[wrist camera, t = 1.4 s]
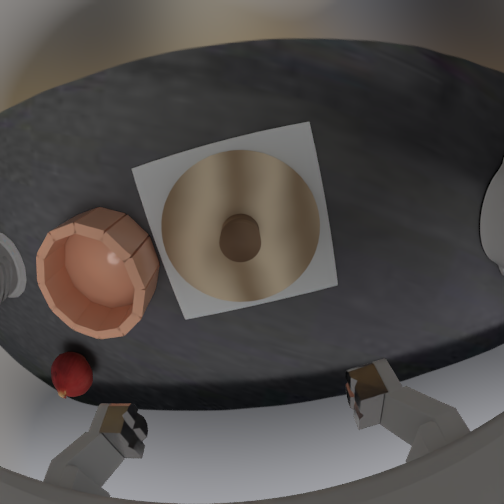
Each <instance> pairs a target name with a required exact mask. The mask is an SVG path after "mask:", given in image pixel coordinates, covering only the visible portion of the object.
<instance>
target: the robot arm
mask: <svg viewBox="0 0 504 504" xmlns="http://www.w3.org/2000/svg"><path fill="white" fill-rule="evenodd" d="M480 235H481V242H482V246H483V249H484V251H485V253H486V255H487V256H488V258H489V259H490V260H492V261H493V262H495V263H496V264H497V265H498V266H499V269H500V272H501V274H502V275H504V159H503V163H502V165H501V167H500V169H499V170H498V171H497V173H496V174H495V176H494V177H493V179H492V181H491V183H490V185H489V187H488V189H487V192H486V195H485V198H484V202H483V206H482V211H481V220H480ZM346 380H347V382H348V383H347V384H346V395H347V399H348V403H349V406H350V408H352V409H353V410H354V419H355V422H356V424H357V427H358V429H359V430H360V429H363V428H367V427H370V426H373V425H377V424H381V425H382V426H383V427H385V428H386V429H388V430H389V431H391V432H392V433H394V434H395V435H397V436H398V437H400V438H401V439H402V440H404V441H405V442H407V443H409V444H410V445H411V446H412V447H411V450H410V452H409V455H408V457H407V459H406V463H405V464H403V465H400V466H397V467H395V468H392V469H389V470H386V471H384V472H381V473H378V474H375V475H372V476H369V477H366V478H363V479H359V480H356V481H353V482H349V483H346V484H342V485H338V486H334V487H330V488H326V489H322V490H317V491H313V492H308V493H303V494H297V495H292V496H286V497H279V498H272V499H265V500H257V501H246V502H234V503H214V504H504V412H502V413H501V414H499V415H497V416H496V417H494V418H493V419H491V420H490V421H488V422H486V423H485V424H483V425H482V426H480V427H478V428H476V429H475V430H473V431H471V432H470V430H469V429H468V427H467V425H466V424H465V422H464V421H463V419H462V417H461V416H460V414H459V413H458V411H457V410H456V408H454V407H451V406H449V405H447V404H445V403H442V402H440V401H438V400H435V399H433V398H431V397H429V396H427V395H424V394H422V393H420V392H418V391H416V390H414V389H411V388H409V387H407V386H405V387H402V385H401V384H400V382H399V380H398V378H397V377H396V375H395V373H394V372H393V370H392V368H391V367H390V365H389V363H388V362H387V360H386V359H381V360H378V361H375V362H372V363H368V364H365V365H362V366H359V367H355V368H352V369H349V370H346ZM137 411H138V409H137V407H136V406H135V405H134V404H100V405H99V406H98V409H97V411H96V414H95V417H94V419H93V421H92V424H91V427H90V429H89V432H85V433H84V434H83V435H81V436H80V437H79V438H78V439H77V440H76V441H74V442H73V443H72V444H71V445H70V446H69V447H67V448H66V449H65V450H63V451H62V452H61V453H60V454H59V455H57V456H56V457H55V458H54V459H53V460H52V461H51V463H50V466H49V468H48V471H47V474H46V476H45V479H44V481H43V482H42V481H39V480H36V479H33V478H30V477H27V476H24V475H21V474H19V473H16V472H13V471H11V470H8V469H5V468H3V467H1V466H0V504H176V503H155V502H144V501H135V500H126V499H119V498H112V497H110V495H109V493H108V492H107V491H105V490H104V489H103V488H101V487H102V485H103V484H104V483H105V481H106V480H108V478H109V477H110V476H111V475H112V474H113V472H114V471H115V470H116V469H117V468H118V466H119V465H120V464H121V463H122V462H123V460H124V458H142V456H143V452H144V448H145V445H144V443H143V440H144V439H145V438H146V437H147V434H148V427H147V423H146V420H145V419H144V417H143V416H142V415H140V414H138V413H137Z"/></svg>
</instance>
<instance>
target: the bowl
mask: <svg viewBox="0 0 504 504" xmlns="http://www.w3.org/2000/svg"><path fill="white" fill-rule="evenodd" d="M148 235H149V234H148V233H147V232H146V231H144V230H143V229H142V228H141V227H140V226H139V225H138V224H137V223H136V222H135V221H134V220H133V219H132V218H131V217H130V216H129V215H126V213H122V212H118V211H114V210H110V209H106V208H102V207H97V208H94V209H92V210H89V211H86V212H84V213H81V214H78V215H76V216H74V217H73V218H71V219H69V220H68V221H66V222H64V223H63V224H61V225H59V226H58V227H56V228H55V229H53V230H51V231H50V232H49V233H48V234H47V236H46V238H45V240H44V241H43V243H42V245H41V247H40V249H39V251H38V253H37V256H36V262H37V282H38V285H39V287H40V289H41V291H42V293H43V295H44V297H45V299H46V301H47V303H48V305H49V307H50V309H52V311H53V312H54V313H55V314H56V315H57V316H58V317H59V318H60V319H61V320H62V321H64V322H65V323H66V324H67V325H68V326H69V327H70V328H71V329H73V328H74V330H75V331H77V332H80V333H83V334H85V335H88V336H91V337H94V338H97V339H99V338H100V339H106V338H113V337H120V336H124V335H126V334H127V333H128V332H129V331H130V330H131V329H132V328H133V327H134V326H135V325H136V324H137V323H138V322H139V321H140V320H141V318H142V316H143V314H144V312H145V310H146V308H147V306H148V304H149V302H150V300H151V298H152V296H153V294H154V292H155V290H156V285H157V279H158V273H159V267H160V265H159V263H160V262H159V260H158V257H157V254H156V252H155V249H154V246H153V243H152V241H151V238H150V236H149V237H147V236H148Z"/></svg>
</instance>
